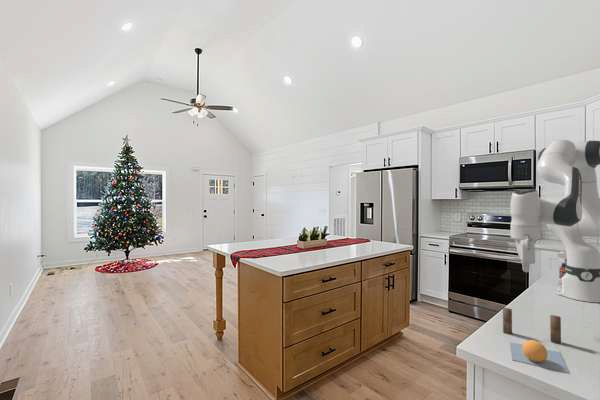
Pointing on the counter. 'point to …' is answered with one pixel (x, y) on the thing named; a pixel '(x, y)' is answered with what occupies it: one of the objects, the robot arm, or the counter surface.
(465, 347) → the counter surface
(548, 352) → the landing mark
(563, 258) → the beer glass
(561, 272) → the supplement bottle
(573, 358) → the counter surface
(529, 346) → the ball
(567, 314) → the counter surface
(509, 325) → the post
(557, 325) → the post
